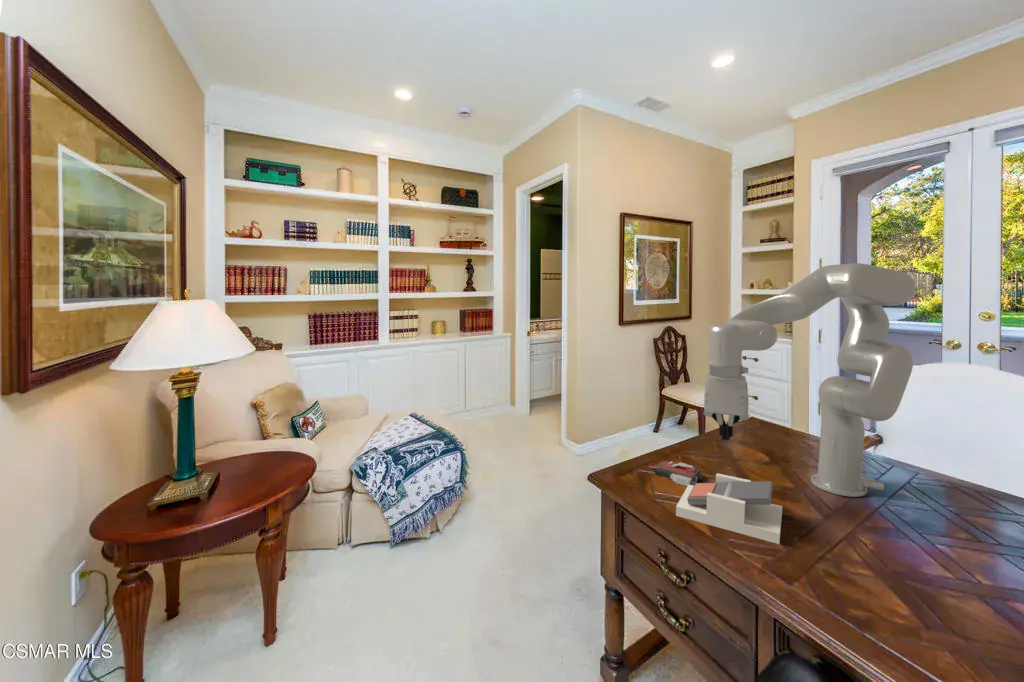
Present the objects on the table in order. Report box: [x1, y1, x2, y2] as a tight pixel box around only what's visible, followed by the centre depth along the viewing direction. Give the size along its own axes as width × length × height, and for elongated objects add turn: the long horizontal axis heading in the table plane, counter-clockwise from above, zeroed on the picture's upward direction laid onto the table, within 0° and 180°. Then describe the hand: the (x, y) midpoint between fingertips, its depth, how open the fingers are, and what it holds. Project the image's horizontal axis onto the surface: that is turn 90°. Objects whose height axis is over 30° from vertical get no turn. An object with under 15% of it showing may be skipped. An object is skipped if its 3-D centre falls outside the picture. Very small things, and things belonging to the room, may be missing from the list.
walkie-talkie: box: [652, 460, 704, 487], centre depth 123 cm, size 9×4×20 cm
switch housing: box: [675, 473, 783, 545], centre depth 103 cm, size 22×14×8 cm, turn 55°
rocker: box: [687, 480, 774, 505], centre depth 103 cm, size 18×10×2 cm, turn 53°
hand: (726, 438), depth 109 cm, fingers closed
